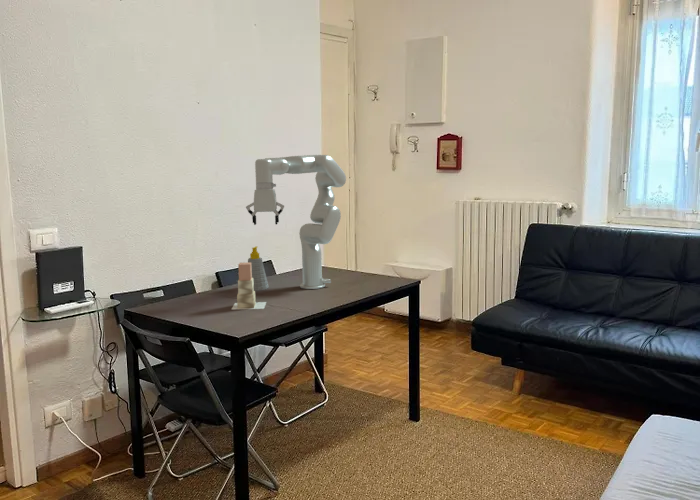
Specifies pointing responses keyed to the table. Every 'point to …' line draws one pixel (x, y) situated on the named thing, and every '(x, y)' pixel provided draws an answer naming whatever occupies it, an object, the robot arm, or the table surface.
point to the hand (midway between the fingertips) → (265, 224)
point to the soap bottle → (258, 271)
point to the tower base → (246, 300)
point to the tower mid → (246, 287)
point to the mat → (258, 306)
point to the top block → (245, 271)
